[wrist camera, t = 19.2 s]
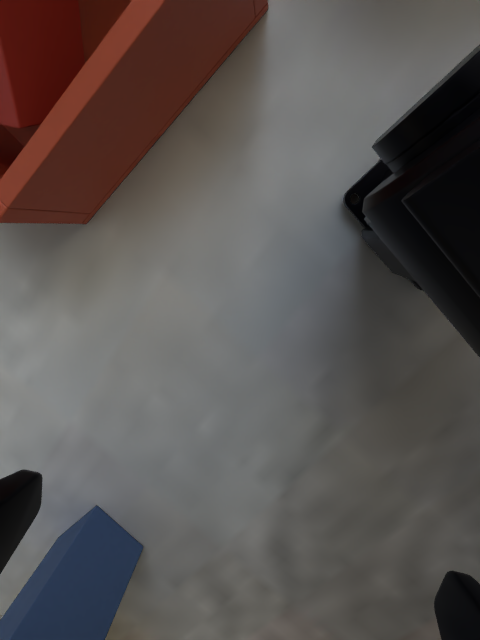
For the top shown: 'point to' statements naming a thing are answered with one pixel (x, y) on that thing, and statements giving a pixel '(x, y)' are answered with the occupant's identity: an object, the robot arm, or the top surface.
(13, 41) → the red block
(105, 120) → the red bin
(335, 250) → the top surface
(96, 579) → the blue block
